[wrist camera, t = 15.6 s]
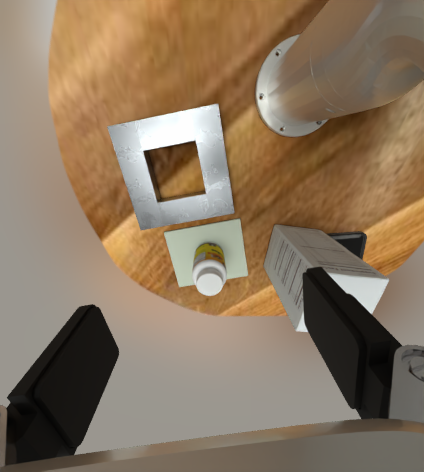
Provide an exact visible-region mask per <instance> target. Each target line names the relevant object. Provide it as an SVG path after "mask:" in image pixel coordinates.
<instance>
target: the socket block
mask: <svg viewBox="0 0 424 472" xmlns="http://www.w3.org/2000/svg"><path fill="white" fill-rule="evenodd" d="M108 130H109V134H110V137H111V140H112V143H113V146H114V149H115V152H116V155H117V158H118V161H119V164H120V167H121V171H122V174H123V177H124V180H125V183H126V186H127V189H128V192H129V195H130V198H131V201H132V204H133V207H134V211H135V214H136V217H137V220H138V223H139V226H140V229H141V230H145V229H150V228H156V227H161V226H167V225H172V224H178V223H183V222H189V221H194V220H200V219H205V218H211V217H217V216H222V215H228V214H233V213H234V206H233V200H232V193H231V186H230V180H229V173H228V166H227V160H226V153H225V146H224V139H223V133H222V126H221V119H220V113H219V106H218V104H214V105H209V106H204V107H200V108H195V109H190V110H185V111H180V112H175V113H171V114H166V115H161V116H156V117H151V118H146V119H142V120H137V121H132V122H127V123H122V124H117V125H112V126H108ZM193 141H196V144H197V149H198V154H199V159H200V164H201V170H202V175H203V180H204V185H205V190H206V191H201V192H195V193H190V194H185V195H180V196H174V197H169V198H164V199H161V197H160V193H159V190H158V186H157V182H156V179H155V175H154V171H153V168H152V164H151V160H150V157H149V153H148V150H153V149H158V148H163V147H168V146H173V145H178V144H183V143H188V142H193Z"/></svg>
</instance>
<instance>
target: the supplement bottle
mask: <svg viewBox="0 0 424 472" xmlns="http://www.w3.org/2000/svg"><path fill="white" fill-rule="evenodd" d="M192 279H193V282H194V284H195V285H196V286H197V289H198V290H199V292H200V293H202V294H204V295H207V296H212V295H215V294H217V293H219V292H220V291H221V289H222V287H223V285H224V283H225V282H226V279H227V271H226V265H225V258H224V253H223V250H222V248H221V247H220V246H219V245H217V244H216V243H212V242H206V243H203V244H201V245H199V246H198V247H197V249H196V251H195V254H194V262H193V270H192Z"/></svg>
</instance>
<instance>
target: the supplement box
mask: <svg viewBox="0 0 424 472" xmlns="http://www.w3.org/2000/svg"><path fill="white" fill-rule="evenodd" d="M319 266H320V267H322V268H323V269H324V270H325V271H326V272H327V273H328V274H329V275H330V276H331V277H332V278H333V280H334V281H335V282H336V283H337V284H338V285H339V286H340V287H341V288H342V289H343V290H344V291H345V292H346V293H347V294H348V293H349V294H351V295H353V296H354V297H355V298H356V299H357V300H358V301H359V302H360V303H361V304H362V305H363V306H364V307H365V308H366V309H367V310H368V311H369V312H370V313H371V314H372V313H373V311H374V309H375V307H376V305H377V303H378V301H379V299H380V298H381V296H382V294H383V292H384V290H385V287H386V285H387V283H388V281H389V279H388V278H387V277H385V276H384V275H382V274H381V273H380V272H378V271H377V270H376V269H374V268H373V267H371V266H370V265H369V264H367V263H366V262H364V261H363V260H362V259H360V258H359V257H357V256H356V255H354V254H353V253H351V252H350V251H349V250H347V249H346V248H345V247H343V246H342V245H341V244H339V243H338V242H337V241H335V240H334V239H332V238H331V237H330V236H328V235H327V234H325V233H324V232H323V231H321V230H317V229H309V228H301V227H293V226H285V225H276V224H275V225H274V228H273V231H272V235H271V239H270V243H269V247H268V251H267V254H266V258H265V262H264V268H265V270H266V272H267V274H268V276H269V278H270V280H271V282H272V284H273V286H274V288H275V290H276V292H277V294H278V296H279V298H280V300H281V302H282V304H283V306H284V308H285V310H286V312H287V314H288V316H289V318H290V320H291V322H292V324H293V326H294V328H295V330H296V331H303V332H308V330H307V328H306V326H305V323H304V308H303V278H302V274H303V273H304V272H306V269H307V268H313V267H319Z"/></svg>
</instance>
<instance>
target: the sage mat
mask: <svg viewBox="0 0 424 472" xmlns="http://www.w3.org/2000/svg"><path fill="white" fill-rule="evenodd" d="M164 235H165V238H166V242H167V245H168V249H169V252H170V256H171V259H172V263H173V266H174V270H175V273H176V277H177V281H178V284H179V287H183V286H189V285H195V284H194V282H193V279H192V270H193V262H194V254H195V251H196V249H197V247H198V246H199V245H201V244H203V243H206V242H212V243H216V244H217V245H219V246H220V247H221V248H222V250H223V253H224V258H225V265H226V271H227V279H231V278H237V277H243V276H248V272H247V264H246V257H245V250H244V243H243V236H242V229H241V222H240V218H237V219H232V220H226V221H221V222H215V223H210V224H204V225H199V226H193V227H188V228H182V229H176V230H171V231H165V232H164Z"/></svg>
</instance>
